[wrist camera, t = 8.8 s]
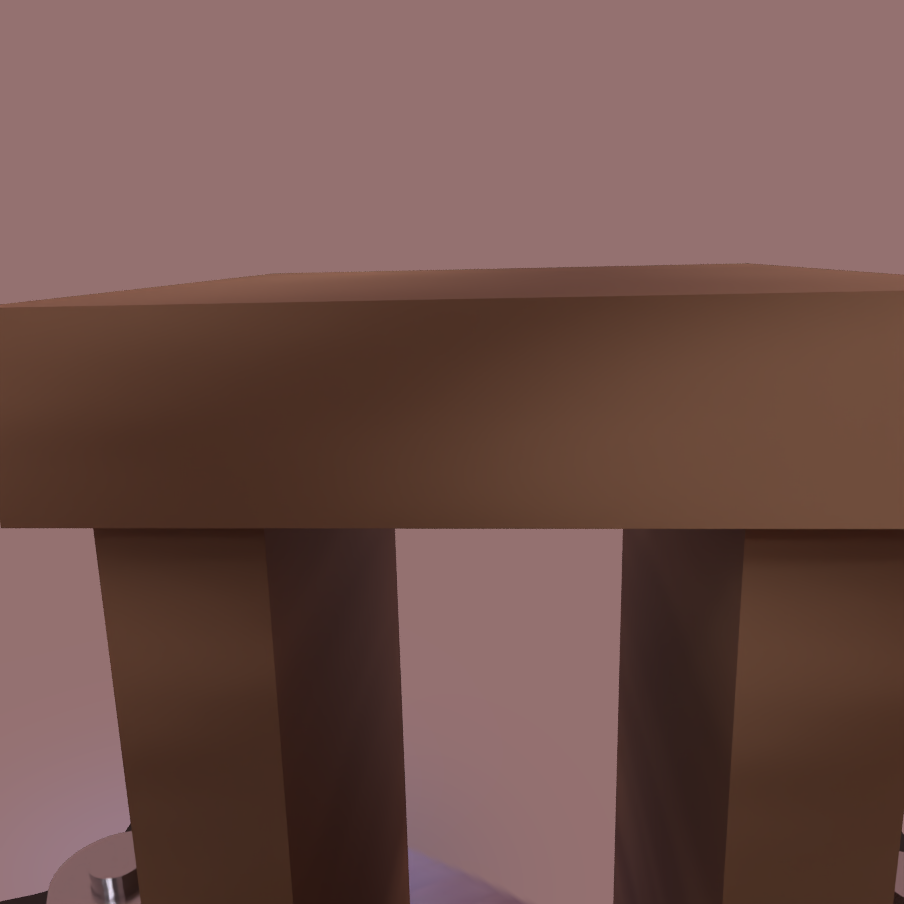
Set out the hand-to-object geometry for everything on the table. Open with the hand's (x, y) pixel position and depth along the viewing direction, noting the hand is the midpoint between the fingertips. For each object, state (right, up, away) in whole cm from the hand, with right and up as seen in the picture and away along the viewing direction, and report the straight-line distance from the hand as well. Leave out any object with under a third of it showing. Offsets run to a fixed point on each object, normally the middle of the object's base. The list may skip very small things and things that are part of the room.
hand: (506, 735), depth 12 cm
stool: (0, -8, -1) cm, 8 cm away
